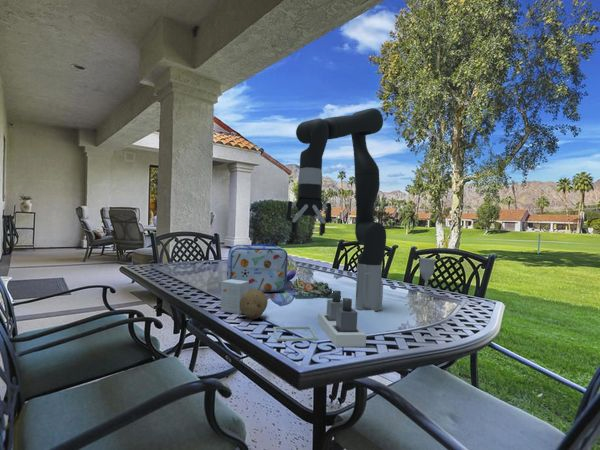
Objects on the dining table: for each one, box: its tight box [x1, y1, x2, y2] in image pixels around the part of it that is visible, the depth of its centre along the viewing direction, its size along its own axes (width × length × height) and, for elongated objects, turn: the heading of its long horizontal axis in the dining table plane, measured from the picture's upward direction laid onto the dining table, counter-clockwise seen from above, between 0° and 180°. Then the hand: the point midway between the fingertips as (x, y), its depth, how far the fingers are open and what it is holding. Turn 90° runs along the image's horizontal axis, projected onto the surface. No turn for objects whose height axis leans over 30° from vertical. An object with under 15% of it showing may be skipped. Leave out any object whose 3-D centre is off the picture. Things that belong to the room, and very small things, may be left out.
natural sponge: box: [240, 289, 269, 320], centre depth 111 cm, size 9×9×10 cm
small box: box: [220, 279, 249, 315], centre depth 120 cm, size 8×6×10 cm
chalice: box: [418, 257, 437, 298], centre depth 153 cm, size 7×7×18 cm
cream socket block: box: [317, 312, 367, 348], centre depth 98 cm, size 20×8×5 cm, turn 10°
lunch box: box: [226, 242, 289, 293], centre depth 155 cm, size 28×10×22 cm, turn 107°
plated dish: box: [290, 273, 333, 300], centre depth 159 cm, size 35×28×7 cm
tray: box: [273, 326, 319, 342], centre depth 96 cm, size 11×10×2 cm
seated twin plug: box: [326, 290, 343, 321], centre depth 103 cm, size 4×4×11 cm
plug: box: [336, 297, 358, 332], centre depth 93 cm, size 4×4×11 cm
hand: (307, 235), depth 109 cm, fingers open, 8 cm apart
